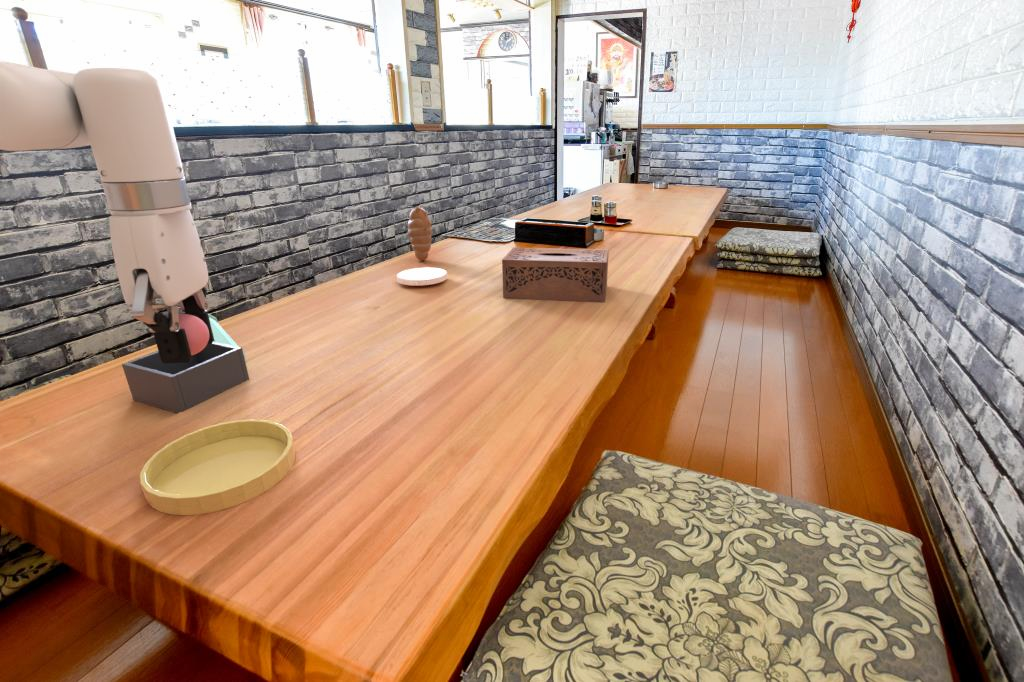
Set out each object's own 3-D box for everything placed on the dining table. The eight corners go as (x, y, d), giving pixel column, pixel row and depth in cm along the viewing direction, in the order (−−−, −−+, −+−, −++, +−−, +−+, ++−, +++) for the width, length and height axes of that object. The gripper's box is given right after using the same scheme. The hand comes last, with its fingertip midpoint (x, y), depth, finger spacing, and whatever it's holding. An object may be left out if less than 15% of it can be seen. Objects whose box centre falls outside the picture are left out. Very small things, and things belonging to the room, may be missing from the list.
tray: (210, 536, 58) (203, 514, 57) (115, 495, 65) (108, 475, 64) (324, 453, 72) (320, 434, 71) (236, 427, 79) (232, 409, 78)
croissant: (430, 264, 171) (426, 207, 165) (407, 263, 172) (401, 207, 165) (437, 257, 180) (433, 203, 173) (414, 257, 180) (409, 203, 174)
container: (239, 341, 95) (207, 307, 113) (208, 361, 93) (181, 322, 111) (258, 365, 99) (224, 328, 117) (229, 385, 97) (199, 344, 114)
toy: (183, 365, 61) (173, 325, 59) (156, 358, 63) (145, 318, 61) (222, 350, 65) (213, 311, 63) (195, 343, 67) (186, 306, 65)
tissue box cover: (503, 297, 136) (502, 259, 132) (514, 282, 149) (513, 247, 145) (604, 302, 131) (606, 262, 127) (606, 285, 144) (608, 249, 140)
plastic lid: (406, 291, 143) (405, 282, 142) (391, 280, 154) (391, 271, 153) (454, 284, 149) (454, 275, 148) (437, 273, 160) (436, 265, 159)
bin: (182, 415, 83) (171, 377, 80) (133, 400, 88) (121, 364, 85) (250, 382, 93) (242, 347, 91) (202, 370, 98) (193, 337, 96)
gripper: (156, 189, 65) (191, 328, 72) (55, 209, 49) (113, 385, 56) (219, 188, 65) (248, 326, 72) (139, 207, 49) (186, 382, 56)
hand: (189, 350), depth 64 cm, fingers closed on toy, 4 cm apart
